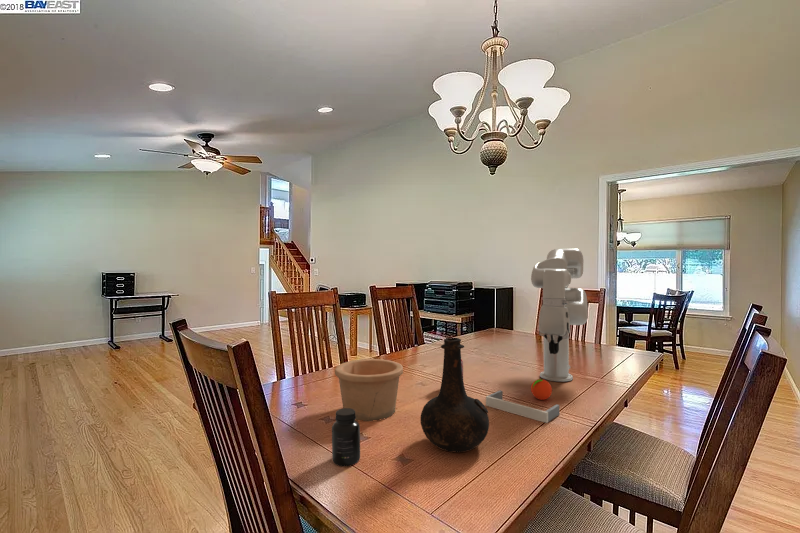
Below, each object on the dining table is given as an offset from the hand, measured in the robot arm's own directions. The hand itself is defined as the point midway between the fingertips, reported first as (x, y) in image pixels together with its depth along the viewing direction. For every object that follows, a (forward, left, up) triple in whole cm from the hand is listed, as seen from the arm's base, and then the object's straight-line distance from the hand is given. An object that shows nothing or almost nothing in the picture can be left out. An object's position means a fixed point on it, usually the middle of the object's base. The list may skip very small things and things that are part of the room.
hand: (553, 353), depth 147 cm
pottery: (+59, -35, -15) cm, 70 cm away
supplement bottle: (+84, -15, -15) cm, 86 cm away
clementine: (+11, 0, -15) cm, 18 cm away
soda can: (+22, -29, -15) cm, 39 cm away
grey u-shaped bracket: (+24, 0, -14) cm, 28 cm away
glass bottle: (+59, -1, -15) cm, 60 cm away
